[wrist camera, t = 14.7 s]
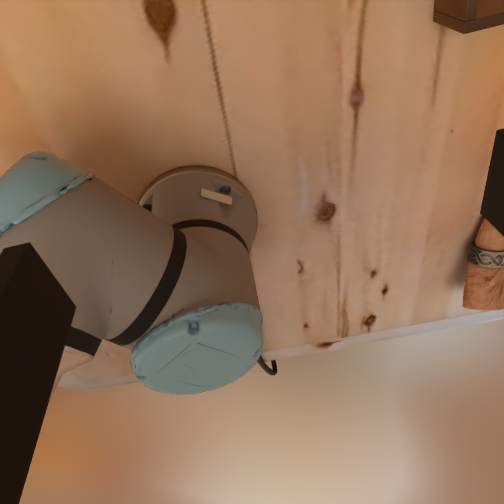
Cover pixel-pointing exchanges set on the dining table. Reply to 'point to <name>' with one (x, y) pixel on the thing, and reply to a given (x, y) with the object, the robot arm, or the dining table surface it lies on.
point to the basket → (469, 14)
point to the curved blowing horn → (485, 271)
